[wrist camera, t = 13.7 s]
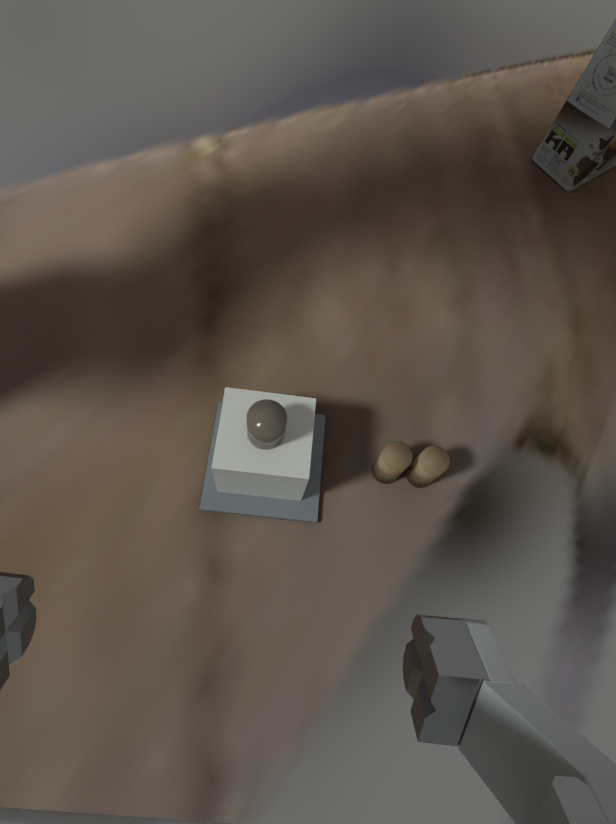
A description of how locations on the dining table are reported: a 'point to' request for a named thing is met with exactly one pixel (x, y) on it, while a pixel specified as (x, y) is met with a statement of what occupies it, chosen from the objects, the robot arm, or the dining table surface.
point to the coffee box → (585, 124)
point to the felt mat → (268, 505)
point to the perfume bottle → (264, 444)
